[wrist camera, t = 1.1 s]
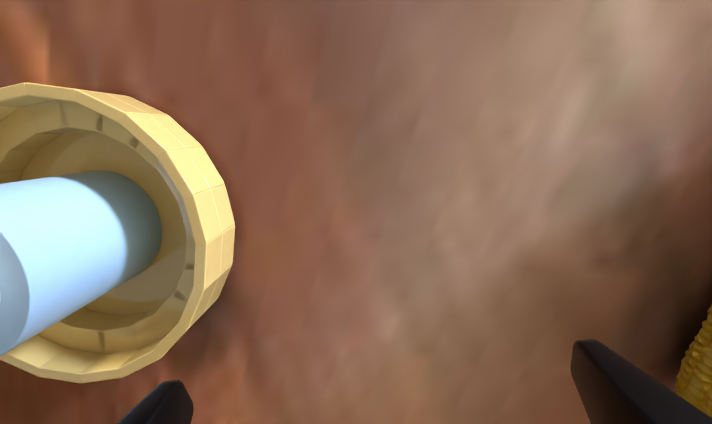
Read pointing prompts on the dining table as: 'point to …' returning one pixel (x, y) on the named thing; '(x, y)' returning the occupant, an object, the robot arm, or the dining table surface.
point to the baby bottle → (69, 246)
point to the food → (698, 370)
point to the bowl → (175, 207)
